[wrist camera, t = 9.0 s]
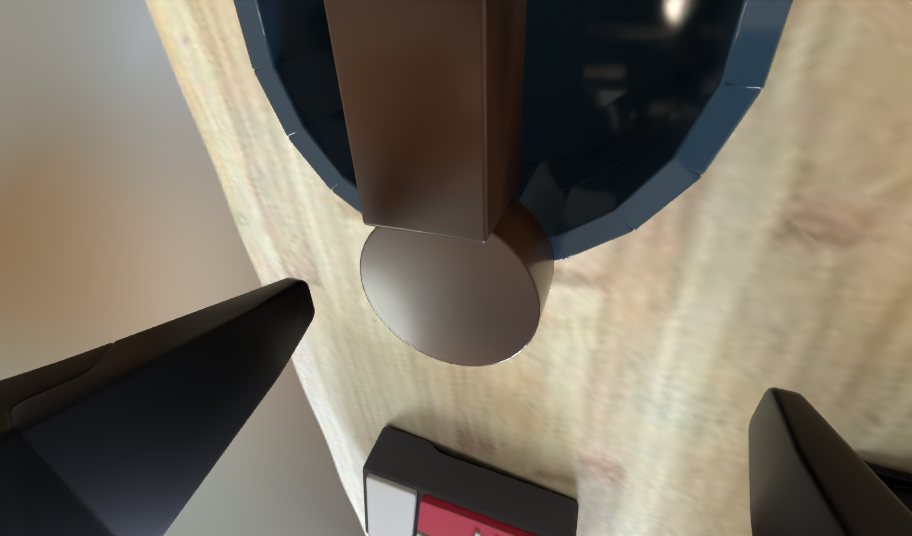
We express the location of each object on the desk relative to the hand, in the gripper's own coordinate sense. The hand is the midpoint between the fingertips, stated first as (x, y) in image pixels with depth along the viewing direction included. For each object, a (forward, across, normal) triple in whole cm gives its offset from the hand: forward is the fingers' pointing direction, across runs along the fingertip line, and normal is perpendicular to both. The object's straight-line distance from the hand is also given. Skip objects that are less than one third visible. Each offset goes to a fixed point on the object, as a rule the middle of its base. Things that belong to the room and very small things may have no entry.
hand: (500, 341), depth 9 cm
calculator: (+12, +5, +29) cm, 32 cm away
